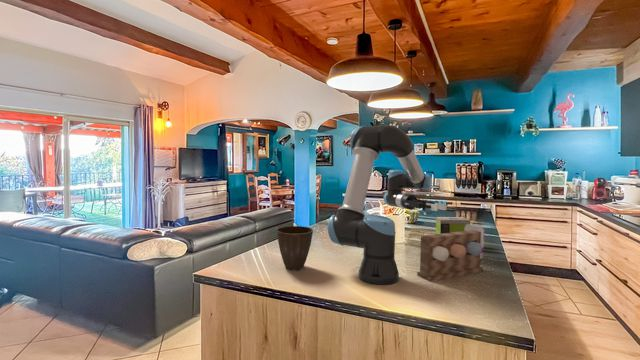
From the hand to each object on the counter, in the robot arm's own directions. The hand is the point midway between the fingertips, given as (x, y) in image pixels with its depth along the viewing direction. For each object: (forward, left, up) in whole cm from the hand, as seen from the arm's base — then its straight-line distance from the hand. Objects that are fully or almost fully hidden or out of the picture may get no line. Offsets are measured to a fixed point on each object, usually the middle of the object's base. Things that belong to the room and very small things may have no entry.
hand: (441, 207), depth 149 cm
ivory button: (-18, -15, -17) cm, 29 cm away
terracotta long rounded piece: (-9, -15, -16) cm, 24 cm away
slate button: (0, -15, -17) cm, 22 cm away
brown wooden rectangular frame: (-9, -15, -24) cm, 30 cm away
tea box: (+26, +17, -24) cm, 40 cm away
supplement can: (+18, -3, -24) cm, 30 cm away
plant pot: (-63, +17, -24) cm, 70 cm away
